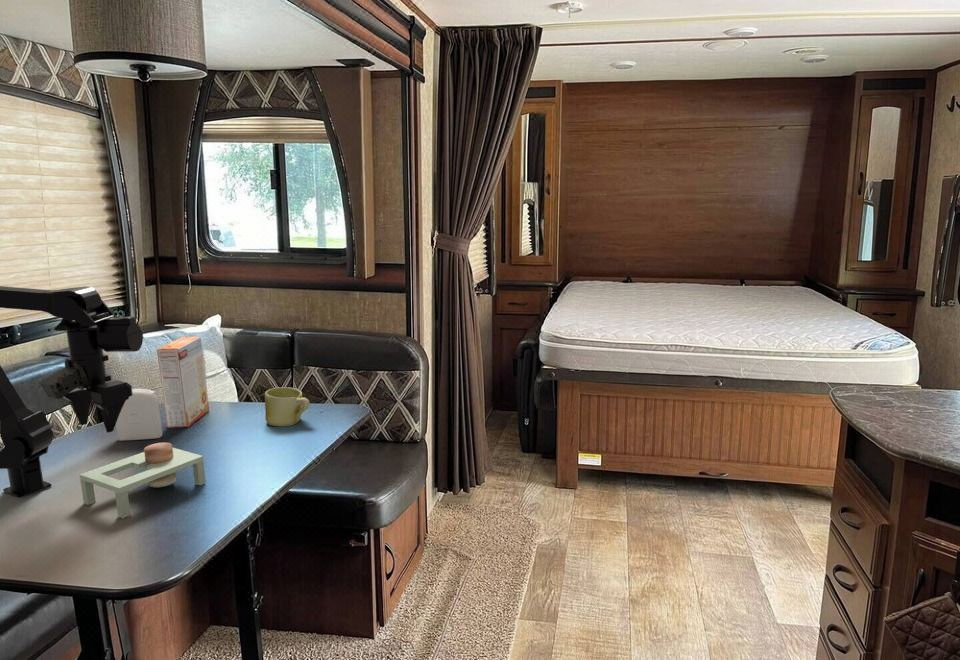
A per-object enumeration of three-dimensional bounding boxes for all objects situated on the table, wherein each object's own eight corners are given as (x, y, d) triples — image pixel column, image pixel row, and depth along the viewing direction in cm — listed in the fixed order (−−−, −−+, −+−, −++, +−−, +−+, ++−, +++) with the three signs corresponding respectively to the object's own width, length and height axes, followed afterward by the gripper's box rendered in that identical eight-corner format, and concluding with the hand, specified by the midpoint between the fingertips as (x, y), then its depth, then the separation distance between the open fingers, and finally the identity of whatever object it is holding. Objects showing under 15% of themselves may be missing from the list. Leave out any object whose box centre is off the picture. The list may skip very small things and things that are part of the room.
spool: (142, 484, 144) (138, 449, 143) (165, 475, 149) (161, 440, 147) (158, 489, 142) (154, 453, 140) (181, 479, 146) (177, 445, 144)
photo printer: (115, 442, 172) (108, 393, 170) (122, 436, 176) (115, 388, 174) (159, 440, 173) (153, 390, 170) (165, 434, 177) (159, 386, 175)
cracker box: (188, 411, 195) (180, 336, 191) (210, 410, 195) (202, 336, 191) (164, 428, 181) (155, 348, 177) (188, 428, 181) (179, 347, 177)
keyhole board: (83, 503, 138) (79, 474, 137) (166, 471, 153) (163, 445, 152) (122, 518, 131) (118, 488, 130) (205, 483, 146) (202, 456, 145)
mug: (249, 417, 182) (261, 380, 182) (280, 418, 191) (292, 383, 190) (278, 435, 175) (291, 397, 175) (310, 436, 184) (321, 399, 183)
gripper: (18, 355, 137) (30, 432, 140) (70, 366, 128) (82, 449, 131) (75, 344, 147) (85, 416, 150) (129, 353, 137) (138, 431, 140)
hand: (96, 428), depth 142 cm, fingers open, 9 cm apart
